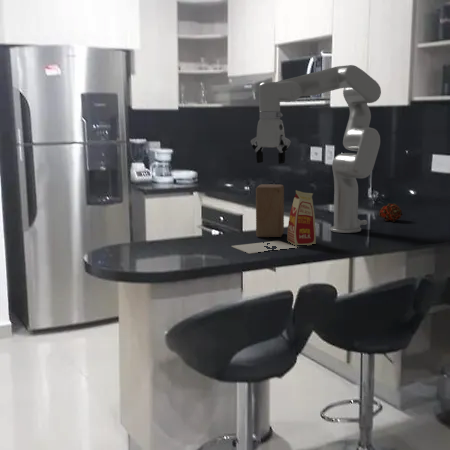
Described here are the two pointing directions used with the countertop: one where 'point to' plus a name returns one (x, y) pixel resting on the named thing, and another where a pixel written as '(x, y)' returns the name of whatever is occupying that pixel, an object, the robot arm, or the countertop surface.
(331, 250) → the countertop surface
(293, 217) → the milk carton
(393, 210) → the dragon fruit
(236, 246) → the mat
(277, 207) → the wooden block
